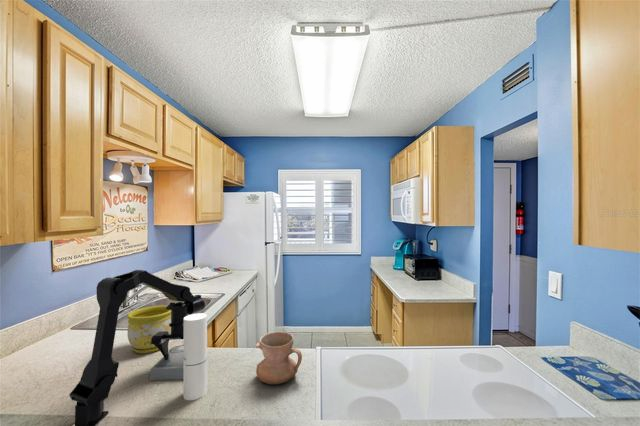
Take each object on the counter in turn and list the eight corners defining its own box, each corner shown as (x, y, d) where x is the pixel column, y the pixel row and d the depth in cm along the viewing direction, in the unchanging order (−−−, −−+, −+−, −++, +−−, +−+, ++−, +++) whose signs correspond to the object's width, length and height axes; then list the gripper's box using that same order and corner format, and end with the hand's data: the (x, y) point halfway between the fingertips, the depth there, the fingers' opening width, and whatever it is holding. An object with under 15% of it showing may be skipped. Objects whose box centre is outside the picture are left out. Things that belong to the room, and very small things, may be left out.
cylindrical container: (200, 384, 96) (200, 311, 97) (211, 392, 91) (211, 316, 92) (179, 394, 90) (179, 317, 91) (189, 403, 86) (189, 322, 87)
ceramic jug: (245, 384, 95) (245, 343, 96) (265, 363, 109) (265, 327, 109) (293, 394, 90) (293, 350, 90) (308, 371, 104) (308, 333, 104)
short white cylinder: (180, 372, 102) (180, 353, 103) (164, 371, 104) (164, 352, 104) (192, 363, 109) (192, 345, 109) (177, 362, 110) (177, 344, 111)
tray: (190, 378, 100) (190, 367, 100) (150, 380, 99) (150, 369, 99) (204, 359, 114) (204, 349, 114) (169, 361, 113) (169, 351, 113)
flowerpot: (178, 347, 126) (178, 310, 127) (131, 361, 113) (132, 320, 114) (166, 336, 139) (166, 303, 139) (123, 347, 126) (123, 311, 127)
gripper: (210, 311, 116) (210, 348, 115) (165, 312, 115) (165, 350, 114) (200, 320, 105) (200, 362, 104) (150, 322, 104) (149, 364, 103)
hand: (179, 359), depth 106 cm, fingers open, 9 cm apart
